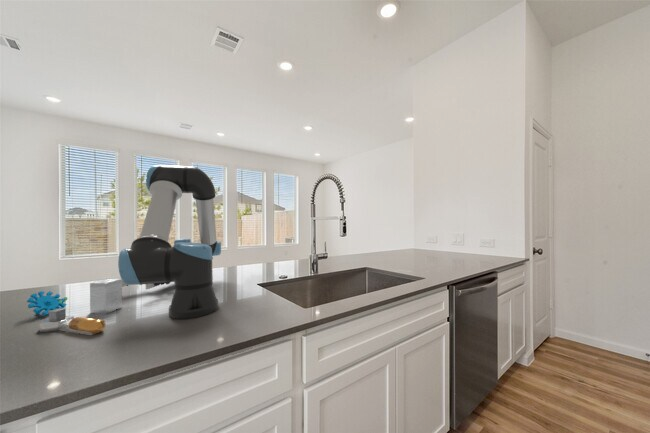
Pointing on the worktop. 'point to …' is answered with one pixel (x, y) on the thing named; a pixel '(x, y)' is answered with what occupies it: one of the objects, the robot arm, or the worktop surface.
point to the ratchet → (71, 323)
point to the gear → (46, 302)
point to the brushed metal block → (105, 296)
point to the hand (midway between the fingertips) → (130, 285)
